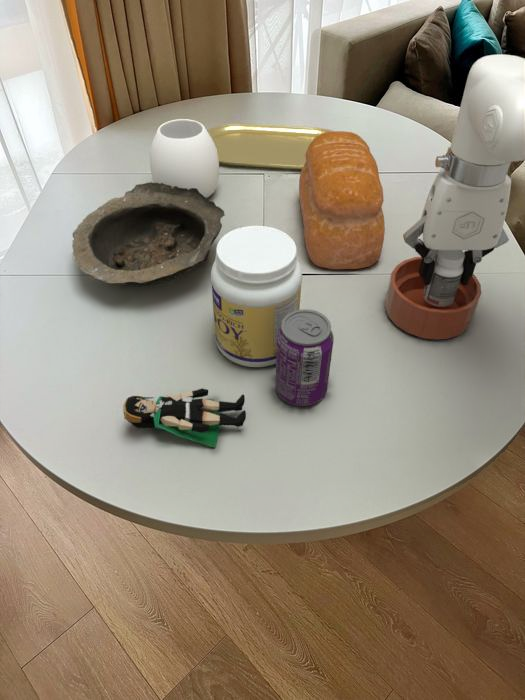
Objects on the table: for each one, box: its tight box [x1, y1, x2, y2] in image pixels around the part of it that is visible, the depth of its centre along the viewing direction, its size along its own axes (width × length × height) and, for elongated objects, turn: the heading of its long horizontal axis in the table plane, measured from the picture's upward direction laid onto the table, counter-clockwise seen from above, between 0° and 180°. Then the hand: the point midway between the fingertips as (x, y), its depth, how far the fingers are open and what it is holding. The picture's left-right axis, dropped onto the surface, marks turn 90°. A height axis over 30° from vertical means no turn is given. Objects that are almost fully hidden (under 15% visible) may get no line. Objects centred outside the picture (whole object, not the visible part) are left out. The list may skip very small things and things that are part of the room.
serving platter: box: [206, 123, 334, 171], centre depth 125 cm, size 19×35×2 cm, turn 84°
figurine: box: [122, 388, 247, 449], centre depth 72 cm, size 8×6×15 cm
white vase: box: [149, 118, 220, 198], centre depth 108 cm, size 13×13×14 cm
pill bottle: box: [423, 250, 465, 307], centre depth 83 cm, size 5×5×8 cm
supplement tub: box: [210, 225, 303, 368], centre depth 78 cm, size 12×12×17 cm
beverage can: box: [274, 308, 334, 407], centre depth 73 cm, size 7×7×12 cm
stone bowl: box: [71, 181, 226, 287], centre depth 94 cm, size 25×25×9 cm
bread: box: [298, 130, 386, 270], centre depth 99 cm, size 14×26×15 cm, turn 2°
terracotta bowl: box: [384, 256, 482, 341], centre depth 86 cm, size 13×13×6 cm
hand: (443, 278), depth 84 cm, fingers closed on pill bottle, 4 cm apart
